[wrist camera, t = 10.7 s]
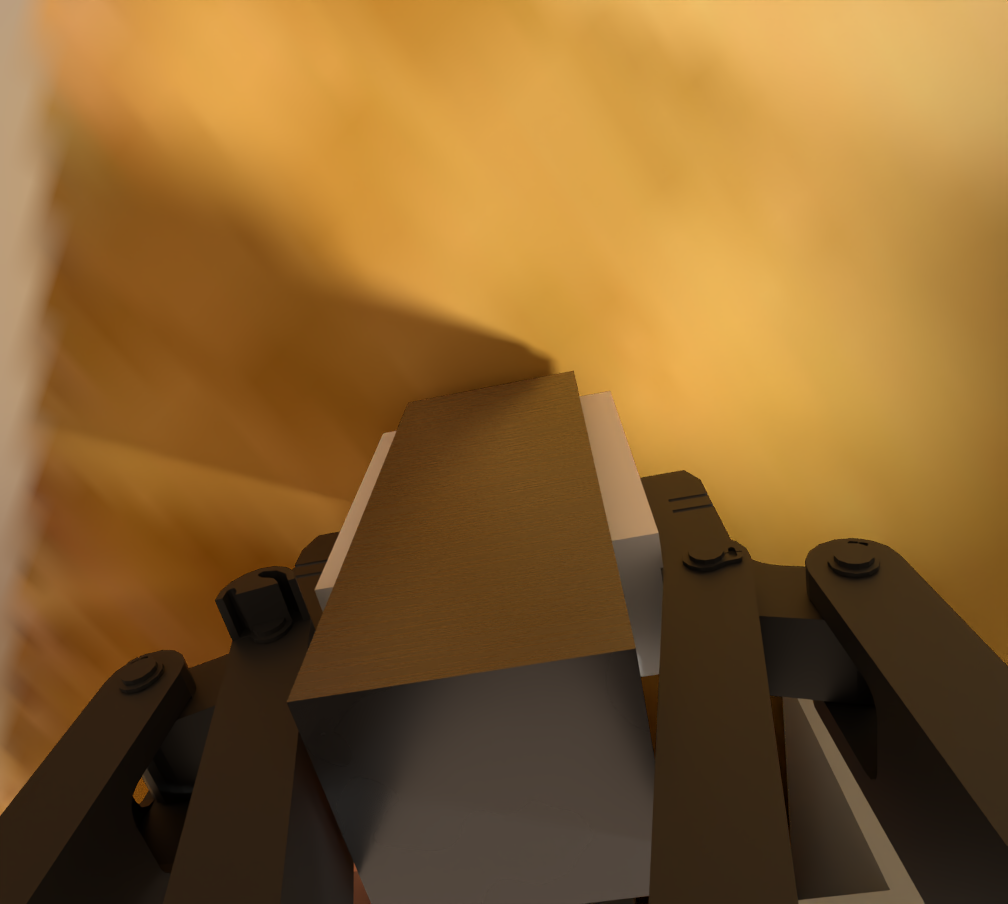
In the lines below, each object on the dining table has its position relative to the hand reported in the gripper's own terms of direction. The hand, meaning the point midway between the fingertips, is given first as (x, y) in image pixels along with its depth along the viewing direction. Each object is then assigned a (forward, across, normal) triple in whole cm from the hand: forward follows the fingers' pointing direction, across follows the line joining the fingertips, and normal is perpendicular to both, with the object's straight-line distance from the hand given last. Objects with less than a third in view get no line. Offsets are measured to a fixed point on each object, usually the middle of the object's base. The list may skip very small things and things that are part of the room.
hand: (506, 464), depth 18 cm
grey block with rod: (0, +2, +7) cm, 7 cm away
